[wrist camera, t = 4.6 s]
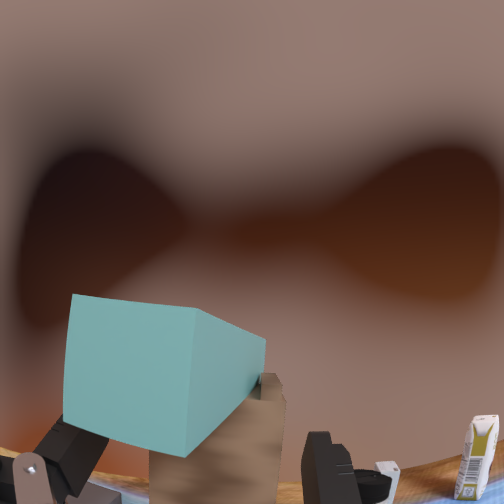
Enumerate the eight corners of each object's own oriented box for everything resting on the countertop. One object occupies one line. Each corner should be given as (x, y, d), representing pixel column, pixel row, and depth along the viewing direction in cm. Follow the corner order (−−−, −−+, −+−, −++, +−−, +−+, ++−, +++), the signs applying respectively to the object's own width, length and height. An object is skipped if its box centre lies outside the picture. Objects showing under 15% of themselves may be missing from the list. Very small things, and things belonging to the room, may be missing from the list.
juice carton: (450, 501, 40) (466, 423, 46) (457, 486, 46) (472, 414, 51) (481, 502, 35) (499, 421, 41) (485, 487, 41) (501, 413, 46)
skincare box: (363, 509, 46) (373, 461, 49) (384, 508, 45) (394, 460, 48) (367, 522, 40) (378, 471, 44) (389, 520, 39) (401, 469, 43)
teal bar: (63, 421, 7) (72, 293, 8) (222, 375, 30) (225, 336, 31) (185, 458, 7) (196, 308, 8) (263, 379, 30) (266, 339, 31)
